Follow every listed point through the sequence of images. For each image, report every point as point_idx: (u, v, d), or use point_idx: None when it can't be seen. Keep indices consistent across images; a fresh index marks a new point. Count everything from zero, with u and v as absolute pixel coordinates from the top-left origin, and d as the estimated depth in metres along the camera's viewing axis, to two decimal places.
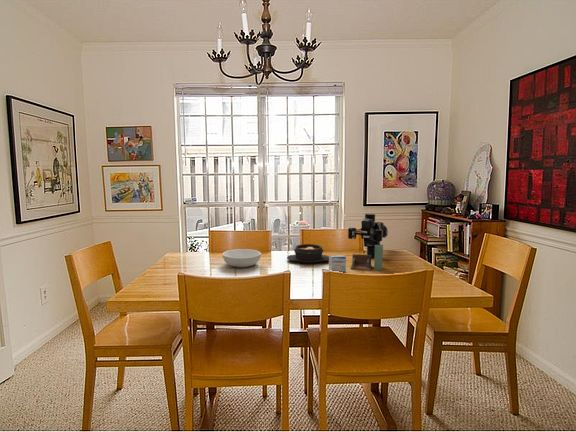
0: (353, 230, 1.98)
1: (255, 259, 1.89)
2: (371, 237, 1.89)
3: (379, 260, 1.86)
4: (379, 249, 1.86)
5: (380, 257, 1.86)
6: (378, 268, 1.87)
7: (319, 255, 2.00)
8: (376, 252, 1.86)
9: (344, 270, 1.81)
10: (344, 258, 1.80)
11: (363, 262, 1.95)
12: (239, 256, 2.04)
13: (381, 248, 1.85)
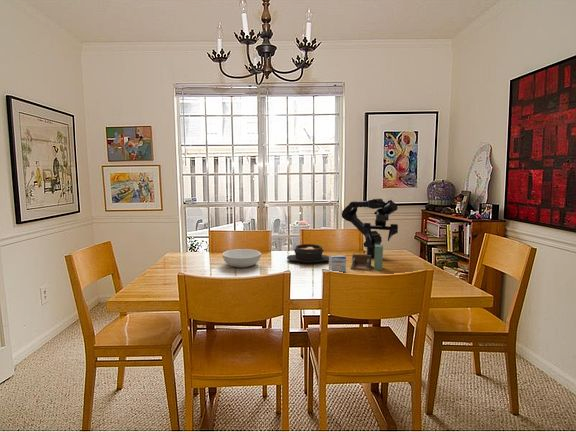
0: (369, 229, 1.99)
1: (255, 259, 1.89)
2: (389, 238, 1.95)
3: (379, 260, 1.86)
4: (379, 249, 1.86)
5: (380, 257, 1.86)
6: (378, 268, 1.87)
7: (319, 255, 2.00)
8: (376, 252, 1.86)
9: (344, 270, 1.81)
10: (344, 258, 1.80)
11: (363, 262, 1.95)
12: (239, 256, 2.04)
13: (381, 248, 1.85)
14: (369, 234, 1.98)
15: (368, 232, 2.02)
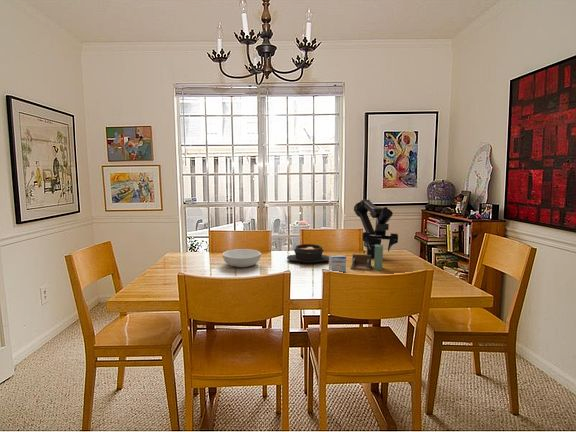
0: (368, 238, 1.94)
1: (255, 259, 1.89)
2: (389, 248, 1.90)
3: (379, 260, 1.86)
4: (379, 249, 1.86)
5: (380, 257, 1.86)
6: (378, 268, 1.87)
7: (319, 255, 2.00)
8: (376, 252, 1.86)
9: (344, 270, 1.81)
10: (344, 258, 1.80)
11: (363, 262, 1.95)
12: (239, 256, 2.04)
13: (381, 248, 1.85)
14: (369, 244, 1.93)
15: (367, 242, 1.97)
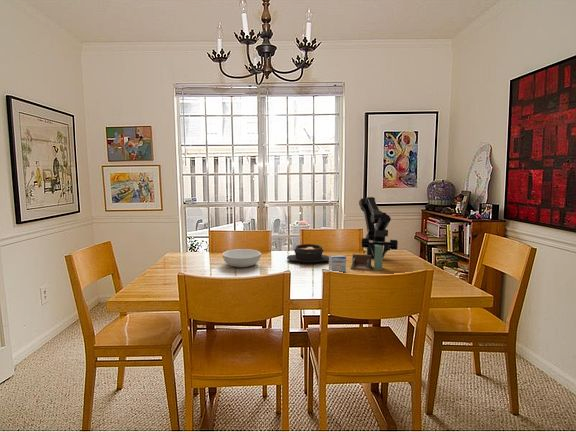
0: (372, 245, 1.90)
1: (255, 259, 1.89)
2: (384, 255, 1.87)
3: (379, 260, 1.86)
4: (379, 249, 1.86)
5: (380, 257, 1.86)
6: (378, 268, 1.87)
7: (319, 255, 2.00)
8: (376, 252, 1.86)
9: (344, 270, 1.81)
10: (344, 258, 1.80)
11: (363, 262, 1.95)
12: (239, 256, 2.04)
13: (381, 248, 1.85)
14: (372, 250, 1.89)
15: (371, 248, 1.93)
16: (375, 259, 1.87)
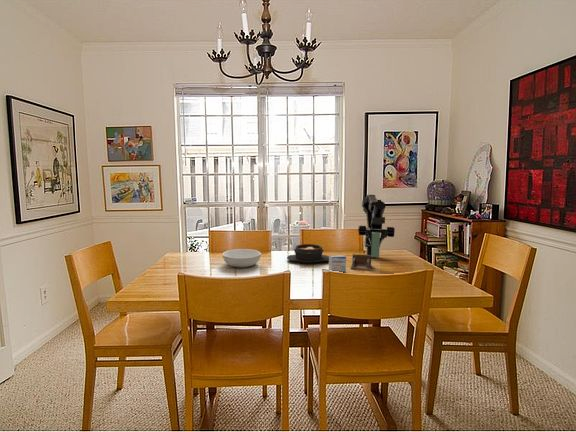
0: (369, 232, 1.90)
1: (255, 259, 1.89)
2: (381, 242, 1.87)
3: (376, 247, 1.86)
4: (376, 236, 1.85)
5: (377, 244, 1.86)
6: (375, 255, 1.87)
7: (319, 255, 2.00)
8: (373, 239, 1.86)
9: (344, 270, 1.81)
10: (344, 258, 1.80)
11: (363, 262, 1.95)
12: (239, 256, 2.04)
13: (378, 235, 1.85)
14: (369, 238, 1.89)
15: (368, 235, 1.93)
16: (372, 246, 1.86)
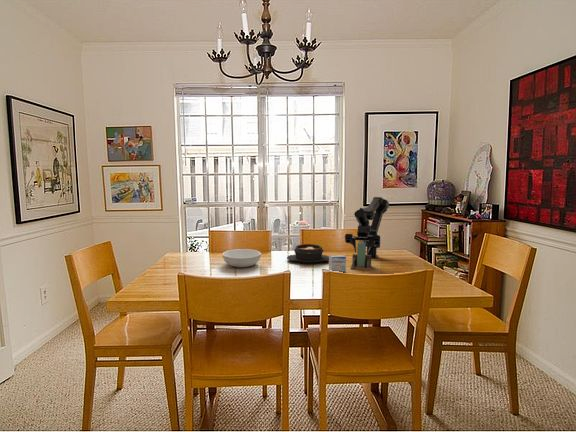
0: (353, 240, 1.93)
1: (255, 259, 1.89)
2: (368, 250, 1.89)
3: (362, 257, 1.89)
4: (361, 246, 1.88)
5: (363, 254, 1.88)
6: (361, 265, 1.89)
7: (319, 255, 2.00)
8: (359, 249, 1.89)
9: (344, 270, 1.81)
10: (344, 258, 1.80)
11: None
12: (239, 256, 2.04)
13: (364, 245, 1.88)
14: (353, 246, 1.92)
15: (353, 243, 1.95)
16: (358, 256, 1.89)
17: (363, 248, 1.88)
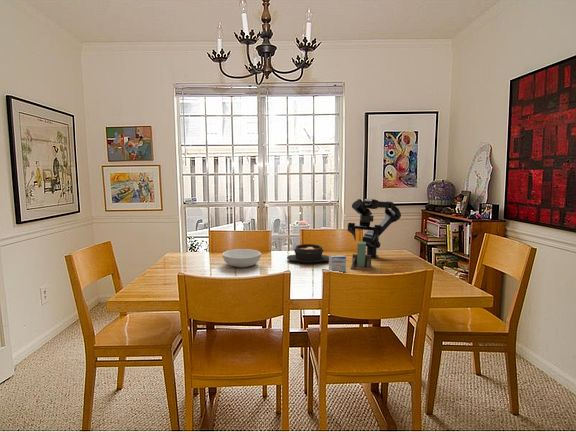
0: (353, 229, 2.00)
1: (255, 259, 1.89)
2: (373, 239, 1.97)
3: (362, 257, 1.89)
4: (361, 246, 1.88)
5: (363, 254, 1.88)
6: (361, 265, 1.89)
7: (319, 255, 2.00)
8: (359, 249, 1.89)
9: (344, 270, 1.81)
10: (344, 258, 1.80)
11: None
12: (239, 256, 2.04)
13: (363, 245, 1.88)
14: (353, 234, 1.99)
15: (352, 232, 2.03)
16: (358, 256, 1.89)
17: (363, 248, 1.88)
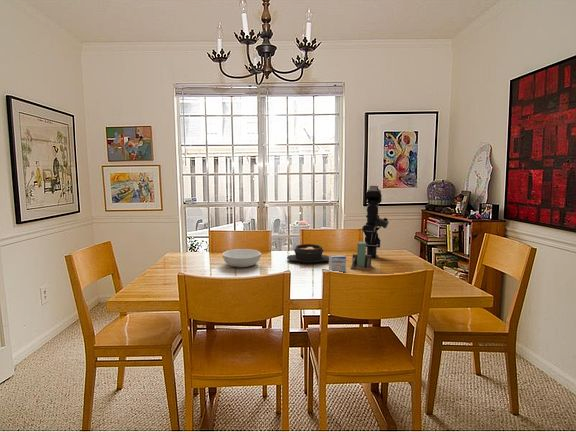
0: (373, 233, 1.88)
1: (255, 259, 1.89)
2: None
3: (362, 257, 1.89)
4: (361, 246, 1.88)
5: (363, 254, 1.88)
6: (361, 265, 1.89)
7: (319, 255, 2.00)
8: (359, 249, 1.89)
9: (344, 270, 1.81)
10: (344, 258, 1.80)
11: None
12: (239, 256, 2.04)
13: (363, 245, 1.88)
14: (371, 238, 1.90)
15: (366, 232, 1.90)
16: (358, 256, 1.89)
17: (363, 248, 1.88)
